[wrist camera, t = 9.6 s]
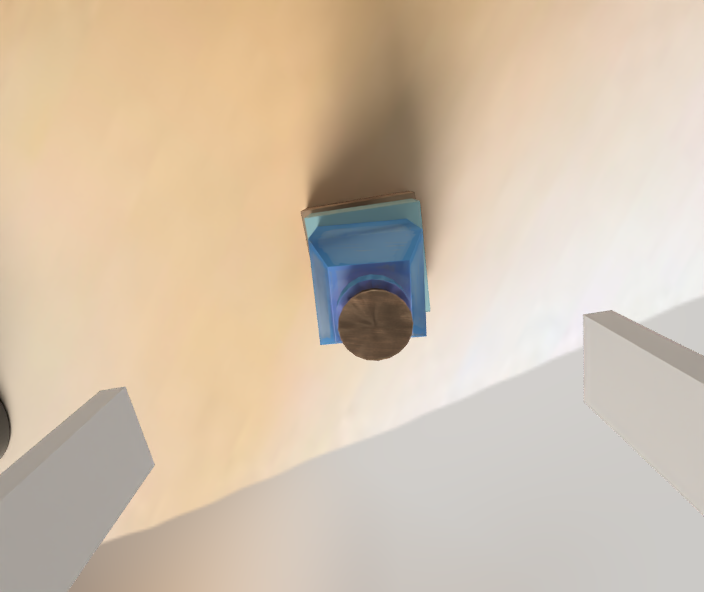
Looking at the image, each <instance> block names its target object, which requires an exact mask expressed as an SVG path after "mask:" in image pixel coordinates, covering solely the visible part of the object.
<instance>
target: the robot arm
mask: <svg viewBox="0 0 704 592" xmlns="http://www.w3.org/2000/svg"><path fill="white" fill-rule="evenodd" d="M583 355H584V356H583V358H584V359H583V363H584V364H583V365H584V366H583V367H584V368H583V369H584V403H585V404H586V405H588V407H590V408H591V409H592V410H593V411H594V412H595V413H596V414H597V415H598V416H599V417H600V418H601V419H602V420H603V421H604V422H605V423H606V424H607V425H609V426H610V427H611V428H612V429H613V430H614V431H615V432H616V433H617V434H618V435H619V436H620V437H621V438H622V439H623V440H624V441H625V442H626V443H627V444H628V445H629V446H630V447H632V448H633V449H634V450H635V451H636V452H637V453H638V454H639V455H640V456H641V457H642V458H643V459H644V460H645V461H646V462H647V463H648V464H650V466H651V467H653V468H654V469H655V470H656V471H657V472H658V473H659V474H660V475H661V476H662V477H663V478H664V479H665V480H666V481H667V482H668V483H669V484H671V486H672V487H674V488H675V489H676V490H677V491H678V492H679V493H680V494H681V495H682V496H683V497H684V498H685V499H686V500H687V501H689V503H690V504H691V505H693V507H695V508H696V509H697V510H698V511H699V512H700V513H701V514H702V515H703V516H704V356H703V355H700V354H699V353H697V352H694V351H692V350H690V349H688V348H686V347H684V346H682V345H680V344H678V343H676V342H674V341H672V340H670V339H668V338H666V337H664V336H662V335H660V334H658V333H656V332H654V331H652V330H650V329H648V328H646V327H644V326H642V325H640V324H638V323H636V322H634V321H632V320H630V319H628V318H626V317H624V316H622V315H620V314H618V313H616V312H614V311H612V310H610V311H604V312H597V313H591V314H585V315H583ZM9 434H10V432H9V422H8V418H7V415H6V412H5V409H4V407H3V405H2V403H1V401H0V459H1V458H2V456H3V455H4V453H5V451H6V449H7V446H8V442H9ZM154 465H155V464H154V462H153V459H152V456H151V454H150V451H149V448H148V446H147V443H146V440H145V438H144V435H143V432H142V430H141V427H140V424H139V422H138V419H137V416H136V414H135V411H134V408H133V406H132V403H131V400H130V398H129V395H128V392H127V390H126V387H121V388H114V389H108V390H102V391H99V392H98V393H97V394H96V395H95V396H93V397H92V398H91V399H90V400H89V401H87V402H86V403H85V404H84V405H83V406H81V407H80V408H79V409H78V410H77V411H75V412H74V413H73V414H72V415H71V416H69V417H68V418H67V419H66V420H65V421H64V422H62V423H61V424H60V425H59V426H58V427H56V428H55V429H54V430H53V431H52V432H50V433H49V434H48V435H47V436H46V437H44V438H43V439H42V440H41V441H40V442H38V443H37V444H36V445H35V446H34V447H33V448H31V449H30V450H29V451H28V452H27V453H25V454H24V455H23V456H22V457H21V458H19V459H18V460H17V461H16V462H15V463H13V464H12V465H11V466H10V467H9V468H7V469H6V470H5V471H4V472H3V473H2V474H0V592H68V590H69V589H70V587H71V586H72V584H73V583H74V582H75V580H76V579H77V577H78V576H79V574H80V573H81V571H82V570H83V568H84V567H85V566H86V564H87V563H88V561H89V560H90V558H91V557H92V555H93V554H94V553H95V551H96V550H97V548H98V547H99V545H100V544H101V542H102V541H103V539H104V538H105V537H106V535H107V534H108V532H109V531H110V529H111V528H112V526H113V525H114V524H115V522H116V521H117V519H118V518H119V516H120V515H121V513H122V512H123V510H124V509H125V508H126V506H127V505H128V503H129V502H130V500H131V499H132V497H133V496H134V494H135V493H136V492H137V490H138V489H139V487H140V486H141V484H142V483H143V481H144V480H145V479H146V477H147V476H148V474H149V473H150V471H151V470H152V468H153V467H154Z"/></svg>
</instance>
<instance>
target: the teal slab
mask: <svg viewBox="0 0 704 592" xmlns="http://www.w3.org/2000/svg"><path fill="white" fill-rule="evenodd" d="M398 219H408V220H410V221H411V222H413V223H414V224H416V225H417V226H419V227H420V228H422V218H421V207H420V201H418V200H415V199H412V198H411V199H404V200H397V201H391V202H384V203H377V204H371V205H364V206H357V207H350V208H344V209H337V210H330V211H324V212H317V213H311V214H309V215H308V216H307V217H305V218H304V220H305V225H306V231H307V236H308V238H309V237H310V236H311V234H312V233H313V232H314V230H315V229H316V228H317V227H319V226H330V225H341V224H353V223H364V222H375V221H387V220H398ZM422 229H423V228H422ZM423 254H424V282H425V309H426V312H429V311H430V302H429V292H428V281H427V271H426V260H425V249H424V239H423Z"/></svg>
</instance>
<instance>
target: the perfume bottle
mask: <svg viewBox="0 0 704 592" xmlns="http://www.w3.org/2000/svg"><path fill="white" fill-rule="evenodd" d="M308 244H309V252H310V261H311V269H312V278H313V286H314V294H315V303H316V311H317V320H318V328H319V337H320V345H325V344H337V343H343V344H344V345H345V347H346V348H347V349H348V350H349V351H350V352H352V353H353V354H354V355H355V356H358V357H360V358H363V359H366V360H376V361H379V360H383V359H388V358H390V357H392V356H394V355H396V354H398V353H399V352H400V351H401V350H402V349H403V348H404V347H405V346H406V345H407V344H408V342H409V340H410V338H411V337H423V336H426V309H425V282H424V254H423V229H422V228H420V227H419V226H417V225H416V224H414V223H413V222H411V221H410V220H408V219H398V220H387V221H375V222H364V223H353V224H341V225H330V226H319V227H317V228H316V229H315V230H314V232H313V233H312V234H311V236H310V237H309V238H308Z"/></svg>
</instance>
